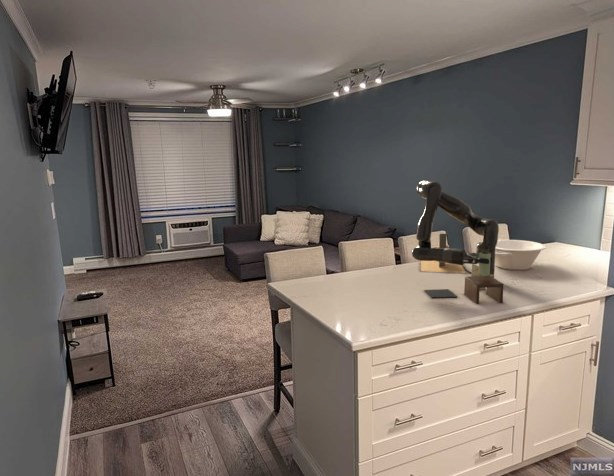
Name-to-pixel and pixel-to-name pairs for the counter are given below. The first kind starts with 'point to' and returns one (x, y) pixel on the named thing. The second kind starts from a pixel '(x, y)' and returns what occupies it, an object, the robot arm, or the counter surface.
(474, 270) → the cosmetic box
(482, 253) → the bottle
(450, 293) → the mat
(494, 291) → the shelf
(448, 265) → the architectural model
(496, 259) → the white wash basin
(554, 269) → the counter surface
